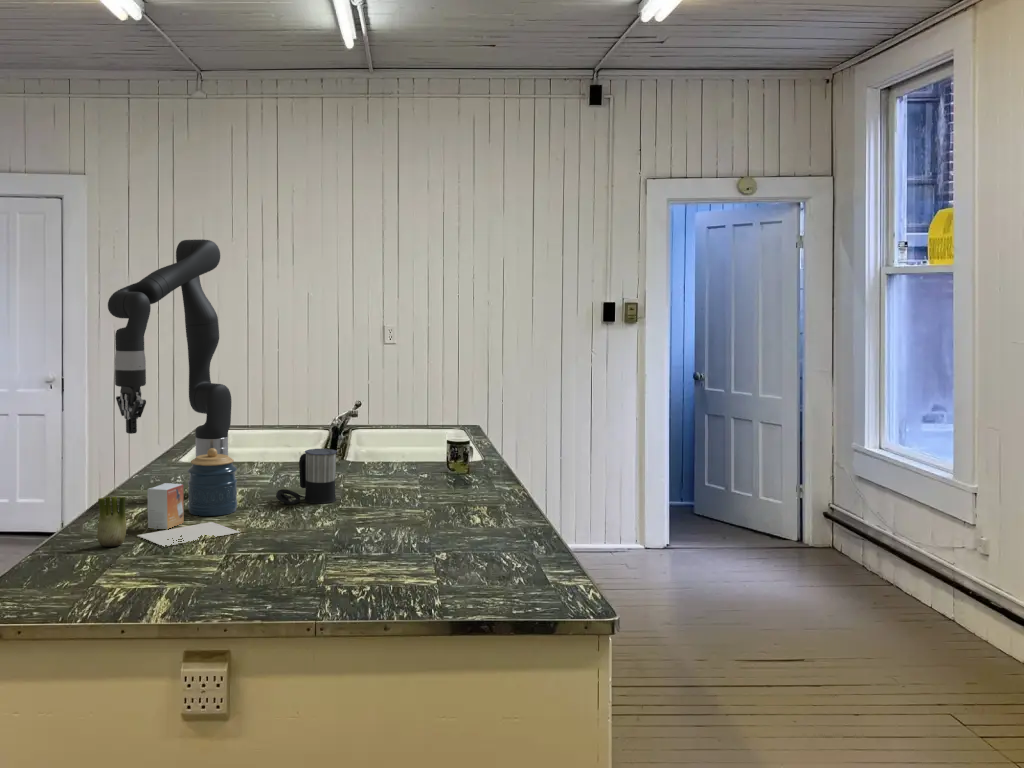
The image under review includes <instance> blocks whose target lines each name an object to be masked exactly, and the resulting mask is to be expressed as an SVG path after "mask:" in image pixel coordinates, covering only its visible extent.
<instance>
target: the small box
mask: <svg viewBox="0 0 1024 768" xmlns="http://www.w3.org/2000/svg"><path fill="white" fill-rule="evenodd" d="M184 513H185V512H184V483H183V484H181V483H170V482H169V483H168V482H164V483H162V484H158V485H156V486H154V487H153V486H152V487H150V488H147V529H148V528H154V529H153V530H157V529H169V528H171V529H173V528H175V527H174V526H176V527H177V525H178V526H180V525H179V524H181V525H183V524H184V517H185V516H184V515H185V514H184ZM182 523H183V524H182ZM172 527H173V528H172Z"/></svg>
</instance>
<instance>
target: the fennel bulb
mask: <svg viewBox="0 0 1024 768" xmlns="http://www.w3.org/2000/svg"><path fill="white" fill-rule="evenodd" d="M97 501H98V509H99V510H98V513H99V514H98V515H99V517H98V521H97V522H98V523H97V530H96V531H97V533H96V535H97V536H96V537H97V541H98V543H99V545H100V546H103V547H106V548H108V547H109V548H111V547H118V546H121V545H122V544H123V543H124V542H125V539H126V534H127V518H126V496H120V497H119V503H118V496H117V495H116V496H105V497H100V498H99V497H98V499H97Z"/></svg>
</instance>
